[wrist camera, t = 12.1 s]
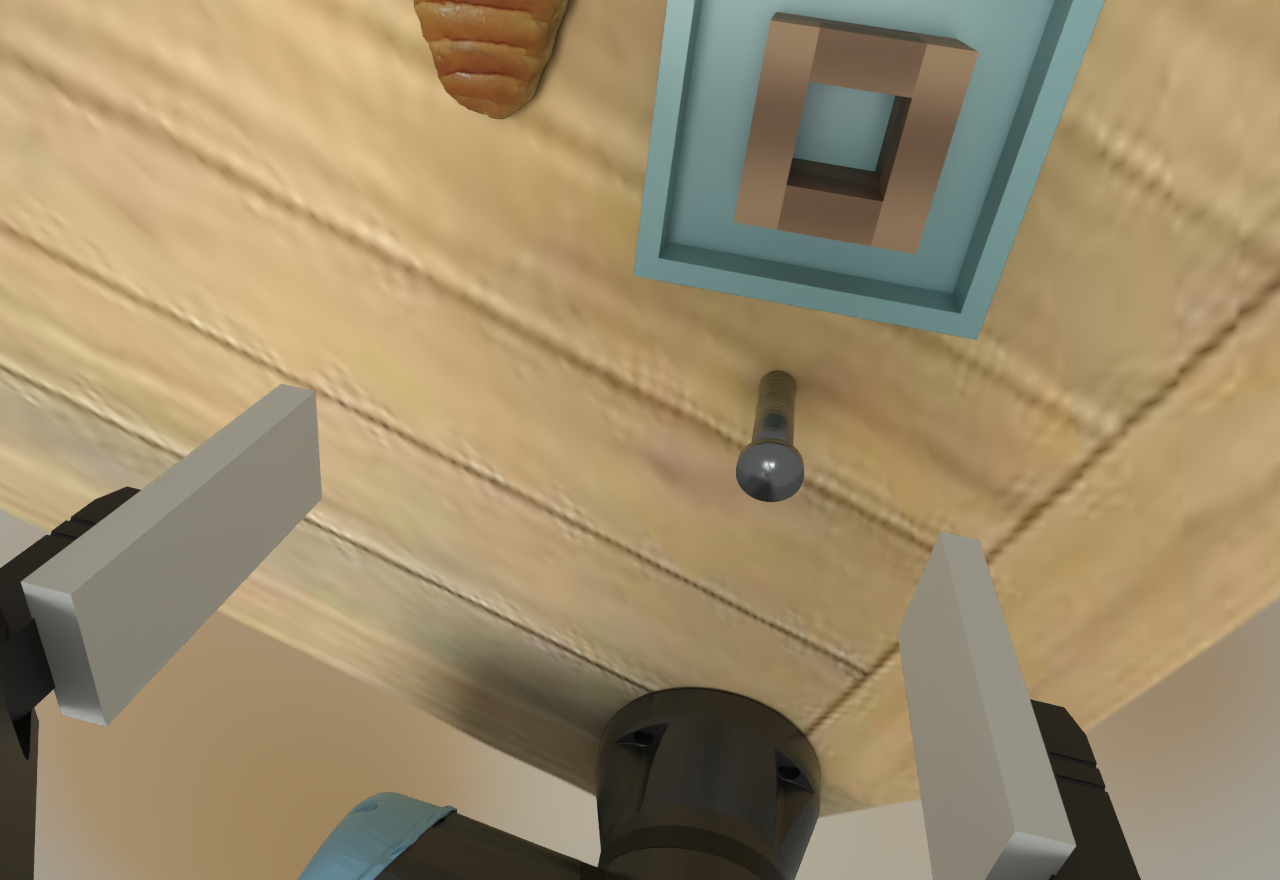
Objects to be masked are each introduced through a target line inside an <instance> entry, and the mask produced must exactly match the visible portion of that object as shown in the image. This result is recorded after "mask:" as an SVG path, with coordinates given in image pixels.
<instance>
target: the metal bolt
mask: <svg viewBox="0 0 1280 880" xmlns="http://www.w3.org/2000/svg"><path fill="white" fill-rule="evenodd" d="M795 392H796V385H795V381H794V379H793V378H792V377H791V376H790V375H789V374H787V373H785V372H782V371H772V372H769V373H767V374H766V375H765V376H764V377H763V378H762V379H761V381H760V385H759V392H758V400H757V407H756V415H755V423H754V430H753V438H752V442H751V443H750V444H748V445H747V446H746V447H745V448H744V449H743V450H742V451H741V453H740V455H739V457H738V461H737V468H736V477H737V481H738V483H739V485H740V487H741V488H742V489H743V490H744V492H746V493H747V494H748V495H749V496H751V497H753V498H755V499H757V500H761V501H766V502H777V501H782V500H785V499H787V498H789V497H791V496H792V495H794V494H795V493H796V492H797V491H798V490H799V488H800V487H801V485H802V483H803V479H804V462H803V458H802V456H801V454H800V453H799V451H798V450H797V449H796V448H795V447H794V446H793V434H794V413H795Z"/></svg>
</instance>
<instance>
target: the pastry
mask: <svg viewBox="0 0 1280 880" xmlns="http://www.w3.org/2000/svg"><path fill="white" fill-rule="evenodd" d="M567 3H568V0H414V8H415V12H416V14H417V16H418V18H419V20H420V23H421V29H422V33H423V37H424V38H425V40H426V41H427V42H428V44H429V48H430V50H431V52H432V55H433V59H434V63H435V67H436V69H437V72H438V77H439V79H440V81H441V83H442V85H443V86H444V89H445V90H446V92H447V93H449V94H450V95H451V96H452V97H453V98H454V99H455V100H456V101H457V102H458V103H459V104H460V105H463V106H465V107H466V108H467V109H469V110H472V111H475V112H478V113H481V114H486V115H488V116H489V117H491V118H494V119H505V118H507V117H509V116H510V115H512V114H513V113H514V112H516V111H517V110H518V109H519V108H521V107H522V106H524V105H525V104H527V103H528V102H529V101H531V100H532V98H533V96H534V94H535V90H536V87H537V84H538V81H539V79H540V77H541V72H542V70H543V68H544V67H545V65H546V63H547V62H548V60H549V59H550V57H551V55H552V49H553V46H554V41H555V37H556V33H557V30H558V28H559V26H560V24H561V22H562V17H563V14H564V13H565V11H566V7H567Z"/></svg>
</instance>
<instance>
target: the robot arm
mask: <svg viewBox="0 0 1280 880" xmlns="http://www.w3.org/2000/svg"><path fill="white" fill-rule="evenodd" d="M321 499H322V492H321V475H320V459H319V442H318V425H317V408H316V391H311V390H307V389H302V388H298V387H293V386H289V385H284V384H280V385H279V386H278V387H276V388H275V389H274V390H273V391H271V392H270V393H269V394H267V395H266V396H265V397H263V398H262V399H261V400H259V401H258V402H257V403H255V404H254V405H253V406H251V407H250V408H249V409H248V410H246V411H245V412H244V413H242V414H241V415H240V416H238V417H237V418H236V419H234V420H233V421H232V422H230V423H229V424H228V425H226V426H225V427H224V428H222V429H221V430H220V431H219V432H217V433H216V434H215V435H213V436H212V437H211V438H209V439H208V440H207V441H205V442H204V443H203V444H201V445H200V446H199V447H197V448H196V449H195V450H194V451H192V452H191V453H190V454H188V455H187V456H186V457H184V458H183V459H182V460H180V461H179V462H178V463H176V464H175V465H174V466H172V467H171V468H170V469H169V470H167V471H166V472H165V473H163V474H162V475H161V476H159V477H158V478H157V479H155V480H154V481H153V482H151V483H150V484H149V485H147V486H146V487H145V488H144V489H142V490H139V489H135V488H131V487H125V488H122V489H120V490H117V491H115V492H112V493H110V494H108V495H105V496H103V497H100V498H98V499H95V500H94V501H92V502H91V503H90V504H88V505H87V506H86V507H84V508H83V509H81V510H80V511H79V512H77V513H76V514H74V515H73V516H72V517H71V520H70V521H67V520H66V521H65V522H63V523H62V524H61V525H59V526H58V527H57V528H55V529H54V530H52V533H51V535H46V536H44V537H43V538H41V539H40V540H39V541H37V542H36V543H34V544H33V545H32V546H30V547H29V548H27V549H26V550H25V551H23V552H22V553H21V554H19V555H18V556H16V557H15V558H14V559H12V560H11V561H10V562H8V563H7V564H5V565H4V566H3V567H1V568H0V880H33V878H34V848H35V847H34V846H35V818H36V788H37V786H36V785H37V758H38V757H37V756H38V729H39V721H38V718H37V715H36V711H35V709H34V707H35V706H36V705H37V704H38V703H39V702H40V701H41V700H42V699H43V698H45V697H46V696H47V695H48V694H49V693H50V692H51V691H52V690H53V689H54V692H55V695H56V698H57V701H58V705H59V708H60V711H61V714H62V715H64V716H68V717H71V718H75V719H79V720H83V721H87V722H91V723H94V724H98V725H102V726H108V725H109V724H110V722H111V721H112V720H113V719H114V718H115V717H116V716H117V715H118V714H119V713H120V712H121V711H122V710H123V709H124V708H125V707H126V705H127V704H128V703H129V702H130V701H131V700H132V699H133V698H134V697H135V696H136V695H137V694H138V693H139V692H140V691H141V690H142V688H143V687H144V686H145V685H146V684H147V683H148V682H149V681H150V680H151V679H152V678H153V677H154V676H155V675H156V674H157V673H158V672H159V670H160V669H161V668H162V667H163V666H164V665H165V664H166V663H167V662H168V661H169V660H170V659H171V658H172V657H173V656H174V655H175V653H176V652H177V651H178V650H179V649H180V648H181V647H182V646H183V645H184V644H185V643H186V642H187V641H188V640H189V639H190V638H191V636H192V635H193V634H194V633H195V632H196V631H197V630H198V629H199V628H200V627H201V626H202V625H203V624H204V623H205V622H206V621H207V620H208V618H209V617H210V616H211V615H212V614H213V613H214V612H215V611H216V610H217V609H218V608H219V607H220V606H221V605H222V604H223V603H224V602H225V600H226V599H227V598H228V597H229V596H230V595H231V594H232V593H233V592H234V591H235V590H236V589H237V588H238V587H239V586H240V585H241V583H242V582H243V581H244V580H245V579H246V578H247V577H248V576H249V575H250V574H251V573H252V572H253V571H254V570H255V569H256V568H257V567H258V565H259V564H260V563H261V562H262V561H263V560H264V559H265V558H266V557H267V556H268V555H269V554H270V553H271V552H272V551H273V550H274V548H275V547H276V546H277V545H278V544H279V543H280V542H281V541H282V540H283V539H284V538H285V537H286V536H287V535H288V534H289V533H290V532H291V530H292V529H293V528H294V527H295V526H296V525H297V524H298V523H299V522H300V521H301V520H302V519H303V518H304V517H305V516H306V515H307V513H308V512H309V511H310V510H311V509H312V508H313V507H314V506H315V505H316V504H317V503H318V502H319V501H320V500H321ZM898 640H899V647H900V654H901V661H902V668H903V675H904V681H905V688H906V695H907V702H908V709H909V716H910V723H911V730H912V737H913V744H914V751H915V757H916V764H917V771H918V778H919V785H920V792H921V799H922V806H923V813H924V819H925V827H926V833H927V840H928V847H929V854H930V861H931V867H932V875H933V880H1141V879H1140V877H1139V874H1138V872H1137V869H1136V866H1135V864H1134V861H1133V858H1132V856H1131V853H1130V850H1129V848H1128V845H1127V842H1126V840H1125V837H1124V834H1123V832H1122V829H1121V826H1120V824H1119V821H1118V819H1117V816H1116V813H1115V811H1114V808H1113V805H1112V803H1111V800H1110V797H1109V795H1108V792H1105V784H1104V782H1103V779H1102V776H1101V773H1100V771H1099V769H1097V768H1096V764H1097V763H1096V760H1095V758H1094V755H1093V752H1092V750H1091V747H1090V744H1089V742H1088V739H1087V736H1086V734H1085V733H1084V732H1083V731H1082V729H1081V728H1080V727H1079V726H1078V724H1077V723H1076V722H1075V721H1074V719H1073V718H1072V717H1071V715H1070V714H1069V713H1068V712H1067V710H1066V709H1065V708H1064V707H1060V706H1056V705H1052V704H1047V703H1043V702H1039V701H1035V700H1031V699H1030V698H1029V695H1028V692H1027V689H1026V686H1025V683H1024V679H1023V676H1022V673H1021V670H1020V667H1019V664H1018V660H1017V657H1016V654H1015V651H1014V648H1013V645H1012V642H1011V638H1010V635H1009V632H1008V629H1007V626H1006V623H1005V619H1004V616H1003V613H1002V610H1001V607H1000V604H999V601H998V597H997V594H996V591H995V588H994V585H993V582H992V578H991V575H990V572H989V569H988V566H987V563H986V560H985V556H984V553H983V550H982V547H981V544H980V541H979V540H977V539H972V538H968V537H963V536H959V535H954V534H950V533H945V532H941V531H940V534H939V536H938V538H937V541H936V543H935V546H934V548H933V550H932V553H931V555H930V557H929V560H928V562H927V564H926V567H925V569H924V572H923V574H922V576H921V579H920V581H919V583H918V586H917V588H916V591H915V593H914V595H913V598H912V600H911V602H910V605H909V607H908V609H907V612H906V614H905V617H904V619H903V621H902V624H901V626H900V628H899V631H898ZM595 787H596V798H597V810H598V821H599V831H600V832H599V833H600V843H601V854H600V858H599V863H598V867H595V866H592V865H589V864H587V863H584V862H582V861H579V860H577V859H575V858H572V857H569V856H566V855H563V854H561V853H558V852H555V851H553V850H550V849H548V848H545V847H542V846H540V845H537V844H534V843H532V842H529V841H527V840H524V839H522V838H520V837H517V836H514V835H512V834H509V833H507V832H504V831H502V830H499V829H496V828H494V827H491V826H489V825H486V824H484V823H481V822H478V821H476V820H473V819H471V818H468V817H466V816H463V815H461V814H458V813H457V809H456V808H454V807H452V806H445V807H439V806H436V805H433V804H430V803H427V802H423V801H420V800H417V799H414V798H411V797H408V796H405V795H402V794H399V793H394V792H384V793H379V794H376V795H374V796H371V797H369V798H367V799H365V800H364V801H363V802H361V803H360V804H358V805H357V806H356V807H355V808H354V809H353V810H352V811H350V812H349V813H348V814H347V816H346V817H345V818H344V819H343V820H342V821H341V822H340V823H339V824H338V825H337V827H336V828H335V829H334V830H333V831H332V833H331V834H330V835H329V836H328V838H327V839H326V840H325V842H324V843H323V844H322V846H321V847H320V848H319V850H318V851H317V852H316V854H315V855H314V857H313V858H312V859H311V861H310V862H309V864H308V865H307V866H306V868H305V869H304V871H303V872H302V874H301V875H300V877H299V878H298V880H794V879H795V877H796V874H797V872H798V869H799V867H800V864H801V861H802V859H803V856H804V853H805V851H806V848H807V845H808V843H809V840H810V838H811V835H812V833H813V830H814V827H815V825H816V822H817V819H818V815H819V809H820V768H819V764H818V760H817V758H816V755H815V753H814V751H813V749H812V747H811V746H810V744H809V743H808V741H807V740H806V739H805V737H804V736H803V735H802V734H801V733H800V732H799V731H798V730H797V729H796V728H795V727H794V726H793V725H792V724H791V723H789V722H788V721H787V720H785V719H784V718H783V717H781V716H780V715H778V714H777V713H775V712H773V711H772V710H770V709H768V708H766V707H764V706H762V705H760V704H758V703H755V702H753V701H750V700H748V699H745V698H742V697H739V696H736V695H732V694H728V693H723V692H718V691H711V690H702V689H679V690H669V691H663V692H658V693H655V694H651V695H648V696H645V697H642V698H640V699H638V700H636V701H634V702H632V703H630V704H628V705H627V706H625V707H624V708H623V709H621V710H620V711H619V712H618V713H617V714H616V715H615V716H614V717H613V718H612V719H611V721H610V722H609V724H608V725H607V727H606V729H605V731H604V734H603V737H602V741H601V745H600V748H599V752H598V756H597V760H596V766H595Z"/></svg>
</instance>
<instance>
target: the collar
mask: <svg viewBox="0 0 1280 880" xmlns="http://www.w3.org/2000/svg"><path fill="white" fill-rule="evenodd" d="M978 53H979V52H978V51H976V50H975V49H973V48H971V47H970V46H968V45H966V44H965V43H963V42H961V41H959V40H958V39H954V38H947V37H941V36H934V35H927V34H921V33H914V32H907V31H901V30H894V29H887V28H881V27H874V26H868V25H861V24H854V23H848V22H841V21H834V20H828V19H821V18H814V17H808V16H801V15H794V14H788V13H781V12H776V13H775V14H774V16H773V17H772V19H771V20H770V25H769V30H768V36H767V41H766V47H765V52H764V58H763V63H762V68H761V74H760V79H759V85H758V90H757V96H756V101H755V106H754V112H753V117H752V123H751V128H750V134H749V139H748V144H747V150H746V155H745V161H744V166H743V172H742V177H741V182H740V188H739V193H738V199H737V204H736V209H735V215H734V220H733V222H735V223H741V224H746V225H752V226H758V227H764V228H769V229H775V230H781V231H786V232H792V233H798V234H803V235H809V236H815V237H820V238H826V239H832V240H838V241H843V242H849V243H855V244H860V245H866V246H872V247H877V248H883V249H889V250H894V251H900V252H906V253H911V254H916V252H917V249H918V246H919V242H920V239H921V236H922V233H923V230H924V226H925V223H926V220H927V217H928V214H929V210H930V207H931V204H932V201H933V198H934V194H935V191H936V188H937V185H938V181H939V178H940V175H941V172H942V169H943V165H944V162H945V159H946V156H947V153H948V149H949V146H950V143H951V140H952V137H953V133H954V130H955V127H956V124H957V120H958V117H959V114H960V111H961V108H962V104H963V101H964V98H965V95H966V92H967V88H968V85H969V82H970V79H971V75H972V72H973V69H974V66H975V63H976V59H977V56H978ZM808 82H814V83H820V84H826V85H833V86H839V87H845V88H852V89H858V90H864V91H871V92H877V93H883V94H890V95H895V99H894V102H893V106H892V110H891V114H890V117H889V121H888V125H887V128H886V132H885V136H884V140H883V143H882V147H881V151H880V154H879V158H878V162H877V166H876V169H875V171H869V170H863V169H857V168H851V167H845V166H839V165H833V164H827V163H821V162H815V161H809V160H803V159H797V158H792V157H793V152H794V147H795V143H796V138H797V133H798V129H799V124H800V119H801V115H802V110H803V105H804V101H805V96H806V91H807V87H808Z"/></svg>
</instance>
